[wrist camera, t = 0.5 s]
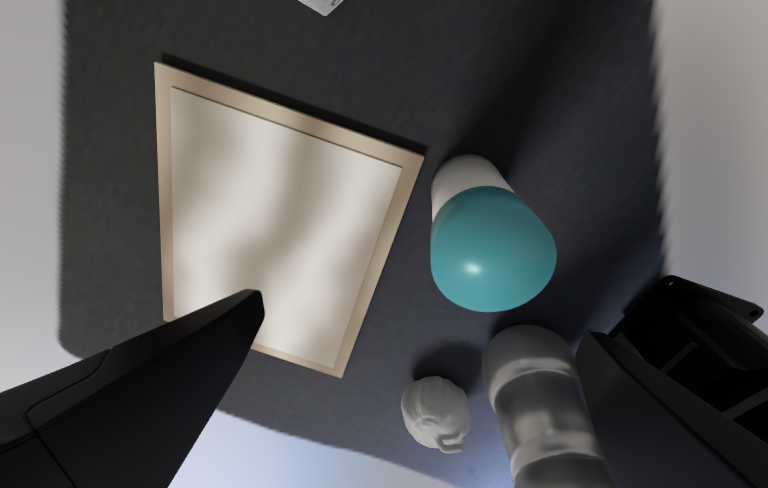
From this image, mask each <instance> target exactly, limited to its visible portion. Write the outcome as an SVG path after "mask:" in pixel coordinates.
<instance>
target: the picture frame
mask: <svg viewBox="0 0 768 488" xmlns="http://www.w3.org/2000/svg"><path fill="white" fill-rule="evenodd" d="M154 64H155V92H156V120H157V148H158V176H159V204H160V232H161V260H162V287H163V315H164V320H166V321H169V322H171V321H173V320H175V319H178V318H180V317H182V316H184V315H187V314H189V313H191V312H194V311H196V310H198V309H200V308H203V307H205V306H207V305H210V304H212V303H214V302H216V301H219V300H221V299H223V298H226V297H228V296H230V295H232V294H235V293H237V292H239V291H242V290H244V289H256V290H260V291H261V293H262V297H263V303H264V309H265V318H264V321H263V323H262V325H261V327H260V329H259V331H258V333H257V335H256V338H255V340H254V342H253V344H252V346H251V349H254V350H257V351H260V352H263V353H266V354H269V355H272V356H275V357H278V358H281V359H284V360H287V361H290V362H293V363H296V364H299V365H302V366H305V367H308V368H311V369H315V370H318V371H321V372H324V373H327V374H330V375H333V376H336V377H339V378H342V376H343V373H344V370H345V368H346V365H347V362H348V360H349V357H350V354H351V352H352V349H353V346H354V344H355V341H356V338H357V336H358V333H359V330H360V328H361V325H362V322H363V320H364V317H365V314H366V312H367V309H368V306H369V304H370V301H371V298H372V296H373V293H374V290H375V288H376V285H377V282H378V280H379V277H380V274H381V272H382V269H383V266H384V264H385V261H386V258H387V256H388V253H389V250H390V248H391V245H392V242H393V240H394V237H395V234H396V232H397V229H398V226H399V224H400V221H401V218H402V216H403V213H404V210H405V208H406V205H407V202H408V200H409V197H410V194H411V192H412V189H413V186H414V184H415V181H416V178H417V176H418V173H419V170H420V168H421V165H422V162H423V160H424V155H421V154H418V153H415V152H413V151H410V150H407V149H404V148H401V147H398V146H396V145H393V144H390V143H387V142H384V141H382V140H379V139H376V138H373V137H370V136H367V135H365V134H362V133H359V132H356V131H353V130H350V129H348V128H345V127H342V126H339V125H336V124H334V123H331V122H328V121H325V120H322V119H319V118H317V117H314V116H311V115H308V114H305V113H302V112H300V111H297V110H294V109H291V108H288V107H286V106H283V105H280V104H277V103H274V102H271V101H269V100H266V99H263V98H260V97H257V96H254V95H252V94H249V93H246V92H243V91H240V90H238V89H235V88H232V87H229V86H226V85H223V84H221V83H218V82H215V81H212V80H209V79H206V78H204V77H201V76H198V75H195V74H192V73H189V72H187V71H184V70H181V69H178V68H175V67H173V66H170V65H167V64H164V63H161V62H154Z"/></svg>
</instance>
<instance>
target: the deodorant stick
mask: <svg viewBox="0 0 768 488" xmlns="http://www.w3.org/2000/svg"><path fill="white" fill-rule="evenodd" d="M431 200H432V216H433V223H432V228H431V270H432V275H433V278H434V280H435V283H436V285H437V286H438V288H439V289H440V291H441V292H442V293H443V294H444V295H445V296H446V297H447V298H448V299H450V300H451V301H452V302H454V303H456V304H457V305H459V306H462V307H464V308H467V309H470V310H474V311H480V312H498V311H504V310H508V309H512V308H515V307H518V306H520V305H522V304H524V303H526V302H528V301H529V300H531V299H532V298H534V297H535V296H536V295H538V294H539V293H540V292H541V291H542V290H543V289H544V287H545V286H546V285H547V284H548V282H549V280H550V279H551V277H552V275H553V272H554V270H555V266H556V260H557V252H556V246H555V242H554V240H553V237H552V235H551V234H550V232H549V230H548V229H547V228H546V227H545V225H544V224H543V223H542V222H541V220H540V219H539V218H538V217H537V216H536V214H535V213H534V212H533V211H532V209H531V208H530V207H529V206H528V205H527V203H526V202H525V201H524V200H523V199H522V198H521V197H519V196H518V195H517V194H515V193H514V191H513V190H512V189H511V188H510V186H509V185H508V184H507V182H506V181H505V180H504V179H503V177H502V175H501V174H500V172H499V171H498V169H497V168H496V167H495V166H494V165H493V163H492V162H490V161H489V160H488V159H486V158H485V157H483V156H480V155H477V154H460V155H456V156H454V157H452V158H450V159H448V160H447V161H445V162H444V163H443V164H442V165H441V166H440V167H439V168H438V169H437V171H436V172H435V174H434V176H433V179H432V183H431Z"/></svg>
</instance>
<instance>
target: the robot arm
mask: <svg viewBox="0 0 768 488" xmlns="http://www.w3.org/2000/svg"><path fill="white" fill-rule="evenodd" d="M672 282H673V283H672ZM670 283H672V284H671V285H669V284H670ZM763 313H764V310H763V309H762V308H761V307H759V306H758V305H756V304H754V303H751V302H748V301H746V300H743V299H740V298H737V297H734V296H732V295H729V294H726V293H723V292H720V291H717V290H714V289H712V288H709V287H706V286H703V285H700V284H697V283H694V282H691V281H689V280H686V279H683V278H680V277H677V276H674V275H668V276H666V277H664V278H662V279H661V280H660V281H659V283H658V284H657V285H656V286H655V287H654V288H653V289H652V290H651V291H650V292H649V294H648V295H647V296H646V297H645V298H644V299H643V300H642V301H641V302H640V303H639V304H638V306H637V307H636V308H635V309H634V310H633V311H632V312H631V313H630V314H629V315H628V317H627V318H626V319H625V320H624V321H623V322H622V323H621V324H620V325H619V326H618V327H617V329H616V330H615V331H614V332H613V333H612V334H611V335H610V336H608V335H607V334H605V333H601V332H593V331H587V332H586V333H585V334H584V335H583V337H582V340H581V342H580V345H579V347H578V350H577V352H576V355H575V362H576V367H577V370H578V374H579V378H580V382H581V385H582V389H583V393H584V397H585V401H586V404H587V408H588V412H589V415H590V418H591V421H592V424H593V427H594V430H595V433H596V435H597V438H598V440H599V443H600V446H601V448H602V451H603V453H604V456H605V459H606V461H607V464H608V466H609V469H610V472H611V474H612V477H613V479H614V482H615V485H616V487H617V488H768V336H767V335H766V334H765V333H764V332H762V331H761V330H760V329H758V328H757V327H756V326H754V325H753V324H752V323H754V322H755V321H756V320H757V319H758V318H760V317H761V316H762V315H763ZM264 318H265V309H264V303H263V297H262V293H261V291H260V290H256V289H244V290H242V291H239V292H237V293H235V294H232V295H230V296H228V297H226V298H223V299H221V300H219V301H216V302H214V303H212V304H210V305H207V306H205V307H203V308H200V309H198V310H196V311H194V312H191V313H189V314H187V315H184V316H182V317H180V318H178V319H175V320H173V321H171V322H168V323H166V324H164V325H161V326H159V327H157V328H155V329H152V330H150V331H148V332H145V333H143V334H141V335H139V336H136V337H134V338H132V339H129V340H127V341H125V342H123V343H120V344H118V345H116V346H114V347H112V348H111V349H106V350H104V351H102V352H100V353H97V354H95V355H93V356H91V357H88V358H86V359H83V360H81V361H79V362H76V363H74V364H72V365H70V366H67V367H65V368H62V369H60V370H57V371H55V372H52V373H50V374H47V375H45V376H42V377H40V378H37V379H34V380H32V381H29V382H27V383H24V384H22V385H19V386H17V387H14V388H12V389H9V390H6V391H3V392H1V393H0V488H168V486H169V485H170V483H171V481H172V480H173V478H174V476H175V475H176V473H177V472H178V470H179V468H180V467H181V465H182V463H183V462H184V460H185V458H186V457H187V455H188V454H189V452H190V450H191V449H192V447H193V445H194V443H195V442H196V440H197V439H198V437H199V435H200V434H201V432H202V431H203V429H204V427H205V426H206V424H207V422H208V421H209V419H210V417H211V416H212V414H213V412H214V411H215V409H216V408H217V406H218V404H219V403H220V401H221V399H222V398H223V396H224V394H225V393H226V391H227V390H228V388H229V386H230V385H231V383H232V381H233V380H234V378H235V376H236V375H237V373H238V371H239V370H240V368H241V366H242V364H243V362H244V360H245V359H246V356H247V354H248V352H249V350H250V348H251V346H252V344H253V342H254V340H255V338H256V335H257V333H258V331H259V329H260V327H261V325H262V323H263V321H264Z"/></svg>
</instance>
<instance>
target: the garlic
mask: <svg viewBox="0 0 768 488" xmlns="http://www.w3.org/2000/svg"><path fill="white" fill-rule="evenodd" d="M401 409H402V413H403V416H404V422H405V425H406V427H407V429H408V431H409V432H410V433H411V434H412V435H413V437H414V438H415V440H416V441H418V442H419V443H421V444H422V445H424V446H427V447H429V448H439V449H440V450H441V451H442V452H444V453H454V452H461V451H462V448H463V446H462V442H463V440H464V437H465V435H466V434H467V433H468V432H469V430H470V429H471V426H472V410H471V407H470V405H469V401H468V398H467V397H466V394H465V392H464V390H463V389H462V388H460V387H457V386H456V385H454V384H453V383H452V382H451V381H450V380H448V379H444V378H441V377H440V376H431V377H424V378H422V379H421V380H417V381H413V382H411V383H409V384H408V385H407V386H406V388H405V389H404V392H403V395H402V398H401Z"/></svg>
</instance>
